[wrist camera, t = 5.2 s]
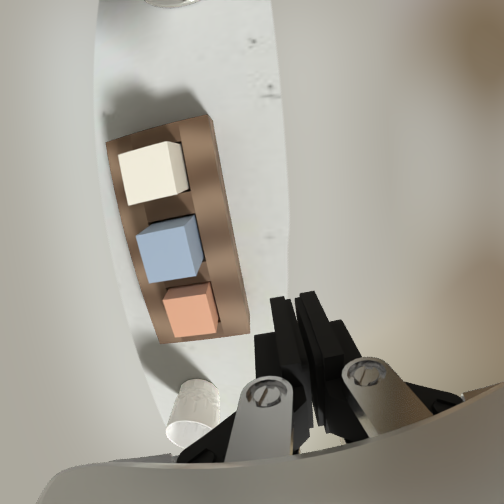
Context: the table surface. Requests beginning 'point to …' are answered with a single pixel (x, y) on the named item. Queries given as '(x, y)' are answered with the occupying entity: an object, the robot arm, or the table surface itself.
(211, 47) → the table surface
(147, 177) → the cream key
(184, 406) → the white cup
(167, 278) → the slate key
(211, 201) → the brown long flat block
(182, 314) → the peach block
